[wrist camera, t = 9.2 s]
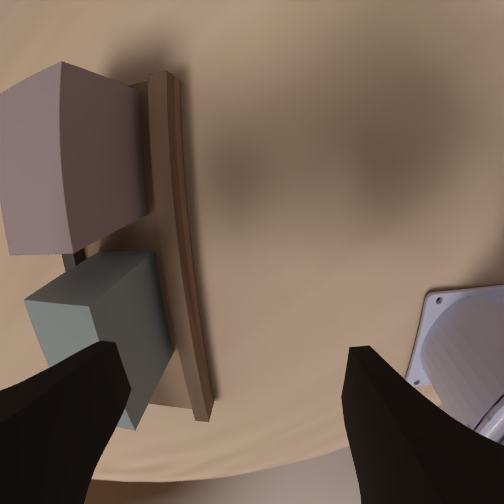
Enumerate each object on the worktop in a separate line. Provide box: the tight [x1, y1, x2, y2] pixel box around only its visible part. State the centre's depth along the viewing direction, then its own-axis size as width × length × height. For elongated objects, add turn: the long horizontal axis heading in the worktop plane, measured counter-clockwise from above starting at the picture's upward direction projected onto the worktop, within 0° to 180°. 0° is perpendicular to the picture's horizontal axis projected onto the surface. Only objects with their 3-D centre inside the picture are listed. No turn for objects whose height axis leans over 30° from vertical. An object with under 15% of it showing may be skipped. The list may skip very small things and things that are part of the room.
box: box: [0, 61, 148, 256], centre depth 12 cm, size 4×7×7 cm, turn 3°
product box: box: [24, 250, 174, 430], centre depth 14 cm, size 4×7×7 cm, turn 2°
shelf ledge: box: [62, 71, 214, 422], centre depth 17 cm, size 8×22×2 cm, turn 3°
